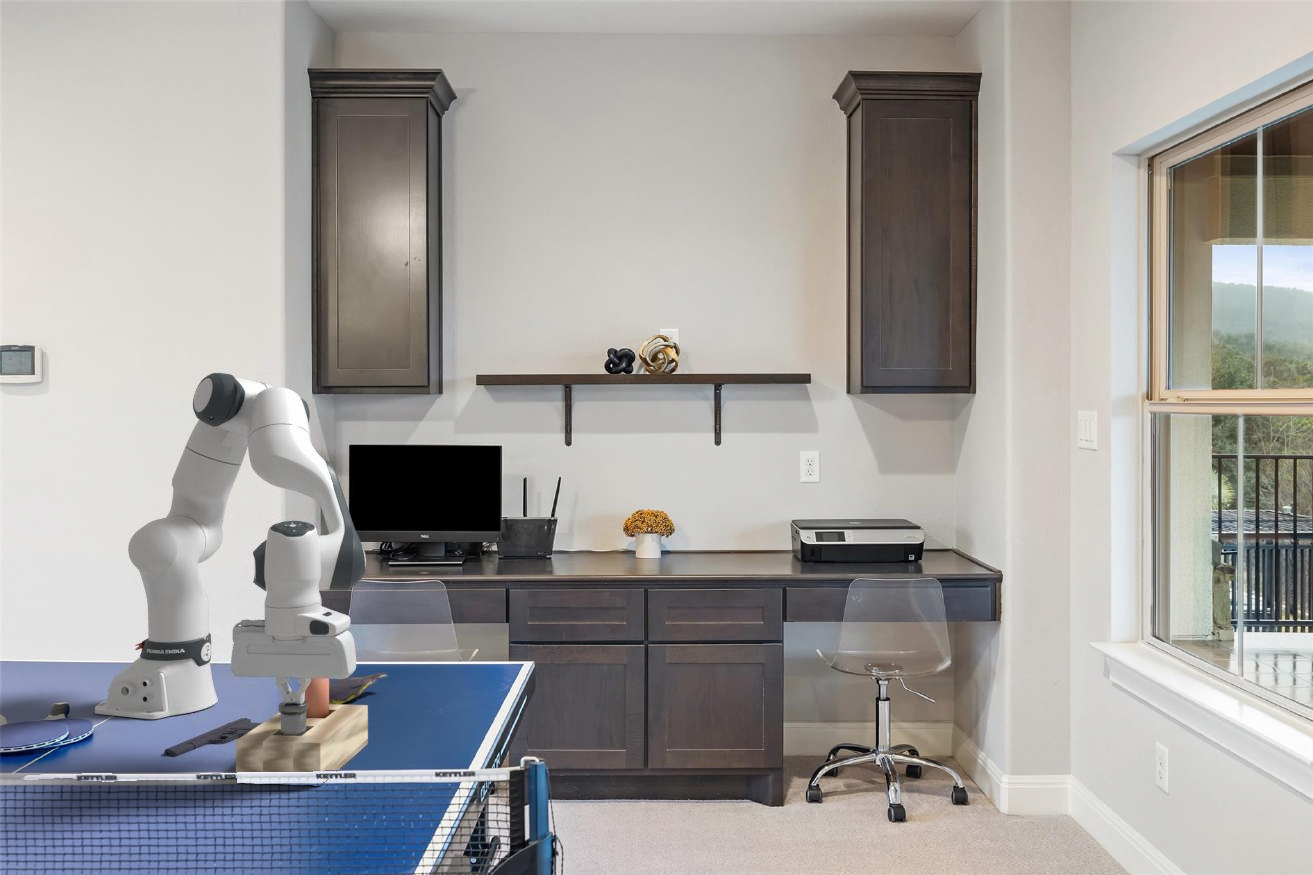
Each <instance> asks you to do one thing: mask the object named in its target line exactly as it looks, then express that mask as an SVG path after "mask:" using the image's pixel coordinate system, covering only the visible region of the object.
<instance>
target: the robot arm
mask: <svg viewBox="0 0 1313 875" xmlns="http://www.w3.org/2000/svg"><path fill="white" fill-rule="evenodd" d="M192 409H193V412H194V414H195V417H196V419H198V421H197V422H196V424H195V426H194V428H193V429H192V431H191V434H190V435H189V437H188V439H187V441H186V444H185V446H184V449H183V450H182V451H183V452H182V454H181V456H180V459H179V461H178V463H177V466H176V469H175V471H174V474H173V476H172V478H171V487H172V492H173V493H172V499H171V506H170V510H169V512H168V514H167V515H166V517H163V518H157V519H155V520H151V521H150V522H148V523H146V524H145V525H143V526H142V527H141V528H139V529H137V531H135V533H133V535H132V536H131V538H130V540H129V543H128V548H127V549H128V550H127V553H128V557H129V560H130V561H131V563H132V565H133V566H134V567H135V568H136V569H137V570H138V572H139V575H140V577H141V578H140V579H141V581H142V583H143V587H144V592H145V596H146V597H145V598H146V601H147V629H148V631H147V632H148V636H147V638H146V639H143V641H141V642H139V643H137V644H135V645H134V646H135V647H136V648H135V651H138V650H140V649H141V652H140V654H139V657H138V658H137V659H136V660H134V661H133V662H132V663H130V664H129V665H128V666H126V668H124V669H123V670H122V671H120V672H119V673H117V675H115V676H114V677H113V678H112V680H111V682H110V685H109V688H108V692H107V698H106V699H105V700H102V701H101V702H100V703H98V704H97V705H95V708H94V714H97V715H106V716H115V717H126V718H135V719H144V720H158V719H162V718H166V717H171V716H176V715H183V714H188V713H193V712H198V711H201V710H204V709H207V708H210V707H211V706H214V705H215V704H217V703H218V701H219V699H218V697H217V696H218V695H217V692H216V689H215V686H214V681H213V680H214V679H213V674H212V669H211V668H212V666H211V659H212V635H211V633H210V632H209V631H210V630H209V629H210V628H209V627H210V625H209V624H210V623H209V619H210V618H209V613H210V612H209V611H210V610H209V596H208V593H207V592H206V591H205V589H204V587H203V586H202V583H201V579H200V574H199V570H198V565H199V564H202V563H203V562H205V561H207V560H209V558H212V556H213V555H214V554H216V552H218V550H219V549H220V547H221V545H222V542H223V539H224V533H223V525H224V524H223V523H224V520H225V515H226V514H225V512H226V507H227V503H228V501H229V496H230V494H231V491H232V489H233V486H234V484H235V481H236V479H237V476H238V474H239V472H240V469H241V467H242V464H243V461H244V458H245V456H246V453H247V452H248V456H249V461H250V465H251V468H252V469H253V472H254V473H255V474H256V475H257V476H258V477H259V478H261V479H262V480H263V481H264V482H267V483H268V484H270V485H272V486H275V487H276V488H280V489H285V490H290V491H292V492H296V493H300V494H302V495H305V496H307V497H309V498H311V499H313V500H314V501H315V502H317V503H318V505H319V506H320V508H321V512H322V515H323V518H324V521H325V524H326V527H327V528H326V529H327V531H328V534H324V535H319V534H318V529H317V528H316V525H314V524H312V523H310V522H307V521H301V520H285V521H281V522H278V523H277V522H276V523H274V524H273V525H271V526H270V527H269V528H268V530H267V537H266V539H265V540H263V542H261V543H260V544H258V546H257V547H256V548H255V549H254V550H253V552H252V555H253V558H254V576H253V581H252V583H253V584H255V585H256V586H257V587H258V588H260V589H261V590H263V591H264V592H266V596H265V600H264V619H242V620H241V621H240V622H237V623H236V624H235V625H234V627H233V628H232V642H233V644H232V649H231V660H230V671H231V673H232V674H233V675H234V677H239V678H275V684H276V686H277V688H278V690H279V691H280V693H281V694H282V702H283V704H302V703H304V700H305V691H306V689H307V687H308V686H309V684H310V682H311V678H321V679H329V680H332V679H333V680H340V679H345V678H350V676H351V675H352V674H353V673H354V672H355V671H356V668H357V654H356V652H357V651H356V644H355V639H354V637H353V634H352V633H351V632H350V631H349V630H347V629H349V628H350V626H351V621H352V620H351V617H350V616H349V615H347V614H345V613H341V612H340V611H336V610H332V609H330V608H327V607H326V606H322V596H321V593H320V591H326V590H327V591H328V590H329V591H345V592H346V591H350V590H351V589H352V588H354V587H355V586H356V585H357V584H358V583H360V581H362V579H363V578H364V577H365V574H366V567H367V558H366V552H365V549H364V547H363V544H362V542H361V538H360V537H359V535H358V533H357V530H356V529H355V525H354V521H353V520H352V517H351V513H350V509H349V506H348V504H347V500H346V497H345V494H344V492H343V488H342V486H341V483H340V480H339V478H338V475H337V473H336V470H335V468H334V465H333V464H332V463H331V461H329V460H327V459H326V458H323V457H322V456H321V455H320V454H319V453H318V452H317V450H316V449H315V447H314V446H313V443H312V440H311V430H310V423H309V422H310V419H311V418H310V416H311V414H310V408H309V405H308V403H307V401H306V400H304V399H303V398H302V397H300V395H299V394H298V393H297V392H296V391H294V390H292V389H290V388H287V387H283V386H273V385H271V384H268V383H265V382H258V381H256V380H251V379H247V378H244V377H243V378H242V377H239V376H237V377H236V376H234V375H232V374H231V373H223V372H212V373H210V374H208V375H206V376H205V377H204V378H202V379H201V380H200V382H199V384H198V385H197V387H196V389H195V392H194V395H193V399H192ZM291 679H297V684H298V685H300V686H299V688H298V690H292V688H291V687H290V685H289V683H288V682H290V680H291Z"/></svg>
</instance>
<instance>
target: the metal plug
mask: <svg viewBox="0 0 1313 875" xmlns="http://www.w3.org/2000/svg"><path fill="white" fill-rule="evenodd" d="M306 710H308V701H306V700H304V703H302V704H283V701H282V702H280V703H278V713H281V735H282V736H302V735H303V734H305V733H306Z"/></svg>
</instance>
